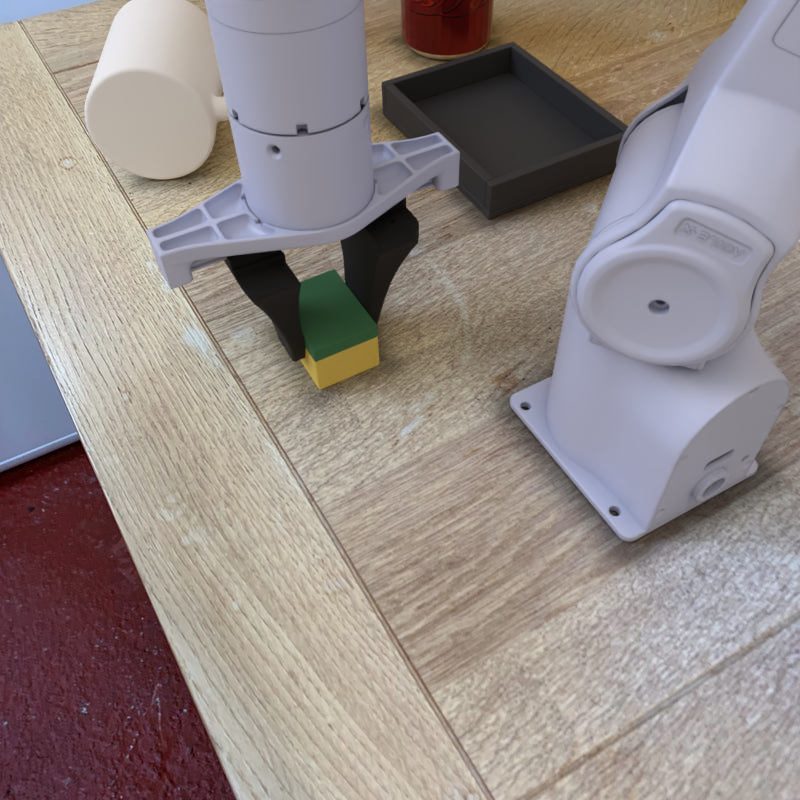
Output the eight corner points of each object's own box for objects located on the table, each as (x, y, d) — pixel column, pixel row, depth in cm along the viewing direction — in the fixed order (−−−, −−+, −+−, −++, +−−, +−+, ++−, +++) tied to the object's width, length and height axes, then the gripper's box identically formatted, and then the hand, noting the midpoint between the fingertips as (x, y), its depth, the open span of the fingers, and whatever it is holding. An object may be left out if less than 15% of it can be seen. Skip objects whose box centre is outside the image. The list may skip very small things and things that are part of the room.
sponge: (380, 365, 42) (377, 325, 40) (319, 390, 41) (313, 351, 39) (339, 308, 45) (334, 268, 43) (281, 331, 44) (273, 291, 42)
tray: (629, 166, 53) (637, 132, 51) (489, 219, 50) (491, 186, 48) (510, 72, 61) (513, 41, 59) (382, 113, 58) (380, 81, 56)
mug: (106, 184, 53) (64, 71, 47) (128, 104, 59) (94, -5, 53) (285, 174, 53) (267, 60, 47) (289, 95, 60) (273, -14, 54)
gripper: (406, 13, 36) (410, 245, 47) (92, 101, 32) (174, 335, 42) (491, 82, 32) (474, 319, 43) (146, 193, 28) (221, 426, 39)
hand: (328, 333), depth 42 cm, fingers closed on sponge, 4 cm apart
